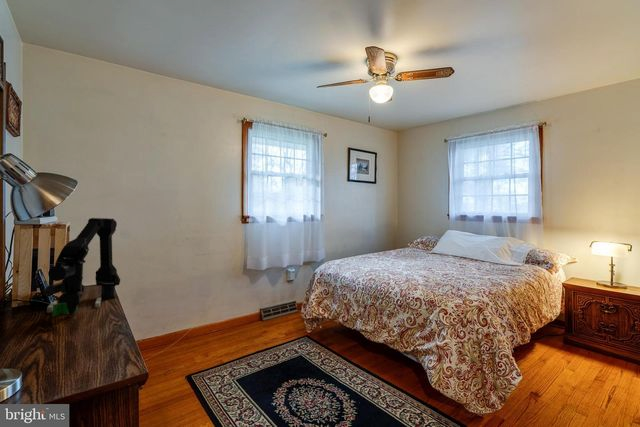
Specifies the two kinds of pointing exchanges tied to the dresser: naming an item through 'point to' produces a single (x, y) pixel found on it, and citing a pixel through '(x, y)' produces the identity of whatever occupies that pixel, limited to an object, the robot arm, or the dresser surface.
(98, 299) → the slot rails
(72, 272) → the robot arm
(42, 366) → the dresser surface
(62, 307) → the pipe clamp
